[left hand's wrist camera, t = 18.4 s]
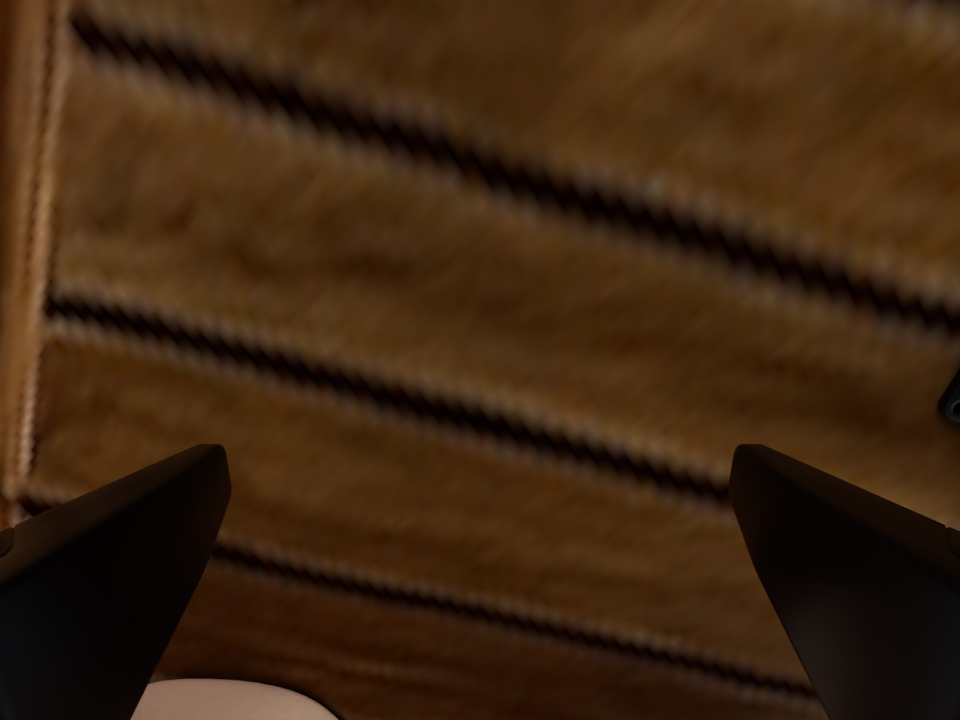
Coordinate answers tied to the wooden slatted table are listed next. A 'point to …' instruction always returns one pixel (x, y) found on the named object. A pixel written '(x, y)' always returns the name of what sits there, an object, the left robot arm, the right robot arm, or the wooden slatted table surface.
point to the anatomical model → (225, 702)
